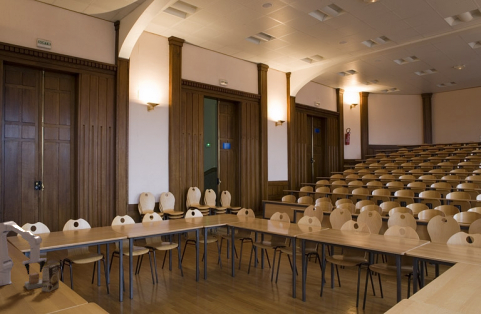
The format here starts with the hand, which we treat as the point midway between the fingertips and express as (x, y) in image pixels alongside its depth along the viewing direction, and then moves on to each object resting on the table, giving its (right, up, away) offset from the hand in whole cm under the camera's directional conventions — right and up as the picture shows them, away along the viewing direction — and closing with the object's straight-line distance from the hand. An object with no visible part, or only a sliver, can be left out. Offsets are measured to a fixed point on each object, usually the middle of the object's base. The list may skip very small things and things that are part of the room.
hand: (34, 273), depth 248 cm
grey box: (0, -10, 0) cm, 10 cm away
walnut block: (0, -7, 0) cm, 7 cm away
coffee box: (+15, -9, -6) cm, 18 cm away
